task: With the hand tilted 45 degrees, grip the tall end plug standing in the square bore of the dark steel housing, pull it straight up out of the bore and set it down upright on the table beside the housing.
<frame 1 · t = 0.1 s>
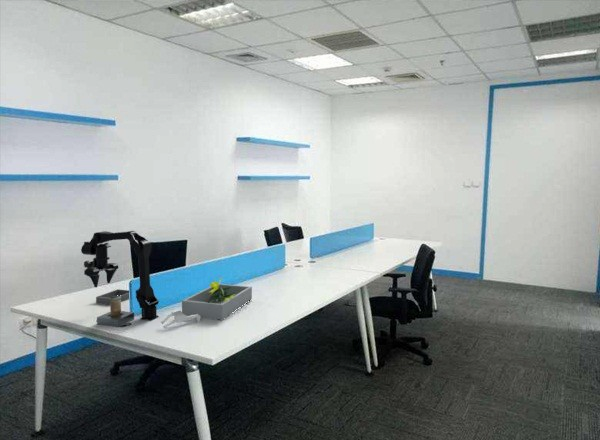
hand: (102, 285, 223), 15 cm above the table, tool pointing down, fingers open, 9 cm apart
end plug: (115, 309, 210), in the housing
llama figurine: (181, 325, 208), on the table
planter: (219, 307, 237), on the table
daffodil flowers: (216, 305, 237), point 1 cm above the table, touching planter
housing: (116, 321, 210), on the table
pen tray: (116, 299, 248), on the table
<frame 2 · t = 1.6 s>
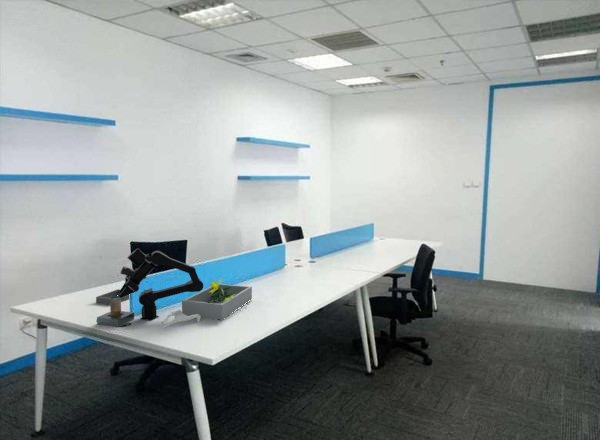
hand: (119, 294, 210), 13 cm above the table, tool tilted 45°, fingers open, 9 cm apart
nothing on the table moved.
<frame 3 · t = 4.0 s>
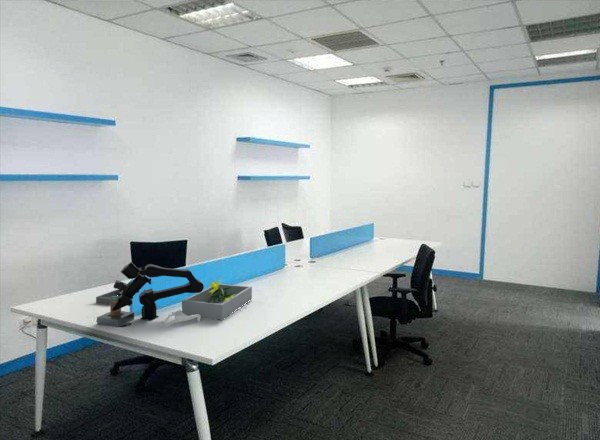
hand: (112, 309, 209), 7 cm above the table, tool tilted 45°, fingers closed on end plug, 5 cm apart
end plug: (115, 309, 210), in the housing, touching gripper
everything else where it was.
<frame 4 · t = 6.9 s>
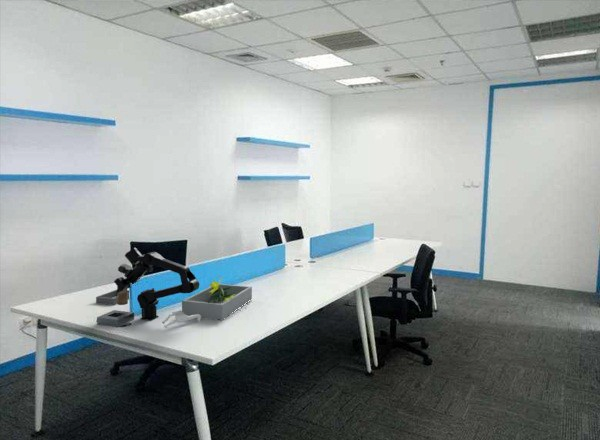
hand: (120, 290, 219), 13 cm above the table, tool tilted 45°, fingers closed on end plug, 5 cm apart
end plug: (122, 291, 218), point 13 cm above the table, touching gripper
everything else where it was.
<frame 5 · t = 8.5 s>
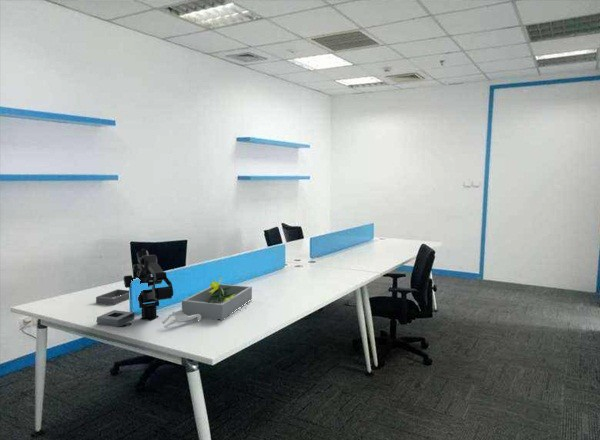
hand: (140, 288, 229), 12 cm above the table, tool tilted 45°, fingers closed on end plug, 5 cm apart
end plug: (141, 289, 228), point 11 cm above the table, touching gripper
everything else where it was.
when the fingers open (8 cm above the table, at t = 10.0 s): end plug drops 1 cm, on the table.
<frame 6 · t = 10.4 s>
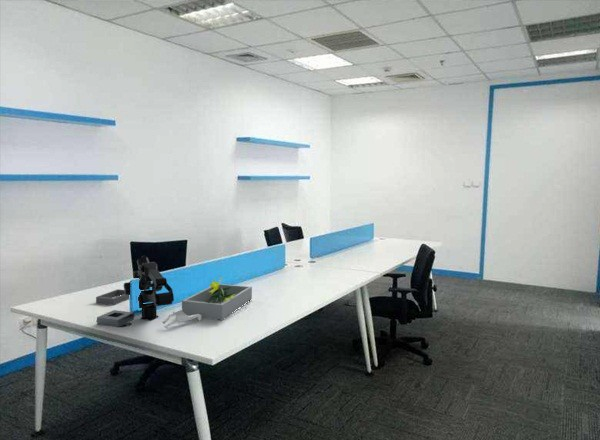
hand: (140, 294, 230), 8 cm above the table, tool tilted 45°, fingers open, 9 cm apart
end plug: (141, 298, 229), on the table
everything else where it was.
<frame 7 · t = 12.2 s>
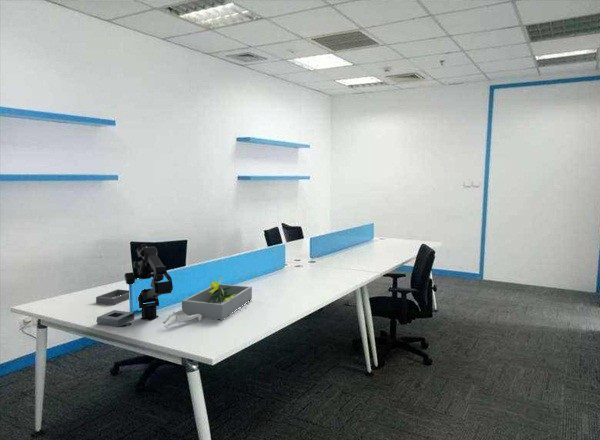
hand: (142, 287, 226), 13 cm above the table, tool tilted 35°, fingers open, 9 cm apart
nothing on the table moved.
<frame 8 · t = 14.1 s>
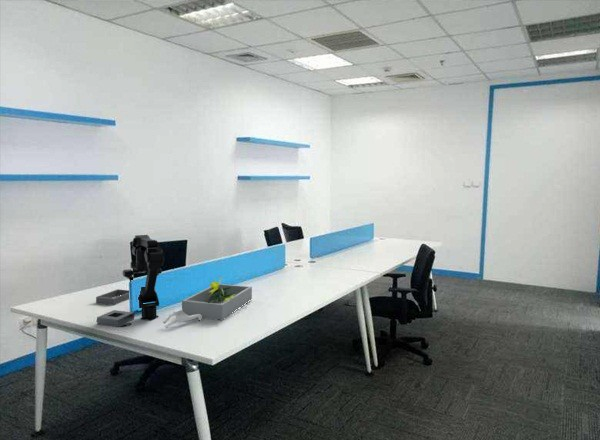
hand: (142, 287, 226), 13 cm above the table, tool pointing down, fingers open, 9 cm apart
nothing on the table moved.
at the end: end plug inside the target area (0.0 cm from its centre), on the table; end plug tilted 0°; the gripper is holding nothing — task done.
